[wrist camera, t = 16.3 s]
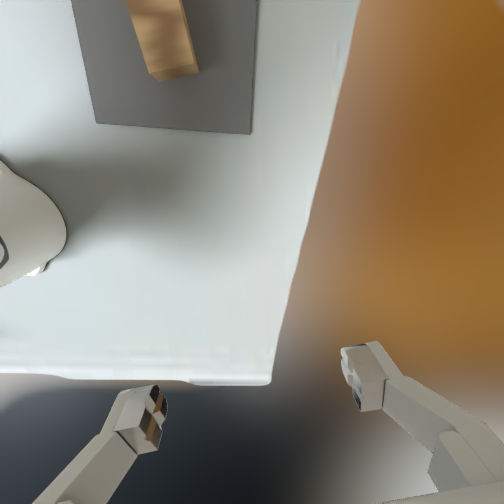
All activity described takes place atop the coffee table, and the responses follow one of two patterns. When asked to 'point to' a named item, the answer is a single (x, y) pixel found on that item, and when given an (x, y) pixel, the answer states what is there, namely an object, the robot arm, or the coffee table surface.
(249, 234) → the coffee table surface
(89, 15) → the charcoal mat
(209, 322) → the coffee table surface
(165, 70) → the oak block
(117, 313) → the coffee table surface
